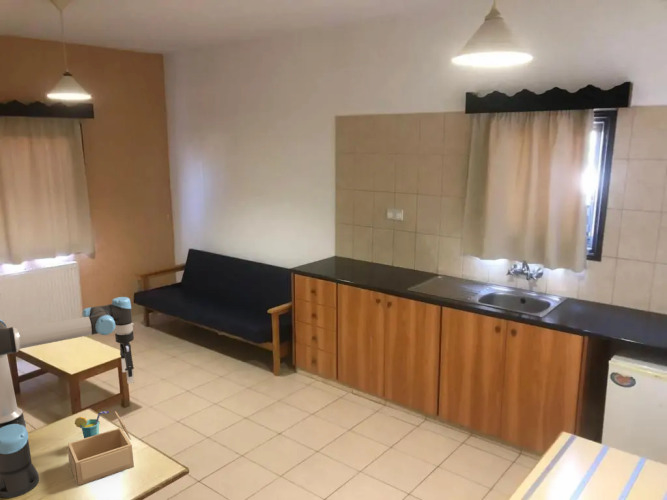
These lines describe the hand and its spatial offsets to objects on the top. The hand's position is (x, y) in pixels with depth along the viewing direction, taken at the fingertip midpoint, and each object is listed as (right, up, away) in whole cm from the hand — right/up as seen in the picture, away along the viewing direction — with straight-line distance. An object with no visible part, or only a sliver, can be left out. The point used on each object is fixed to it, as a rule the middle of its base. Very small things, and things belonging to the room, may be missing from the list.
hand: (128, 377), depth 241 cm
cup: (-14, -29, -3) cm, 33 cm away
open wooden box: (-4, -32, -19) cm, 38 cm away
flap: (+4, -16, -17) cm, 23 cm away
